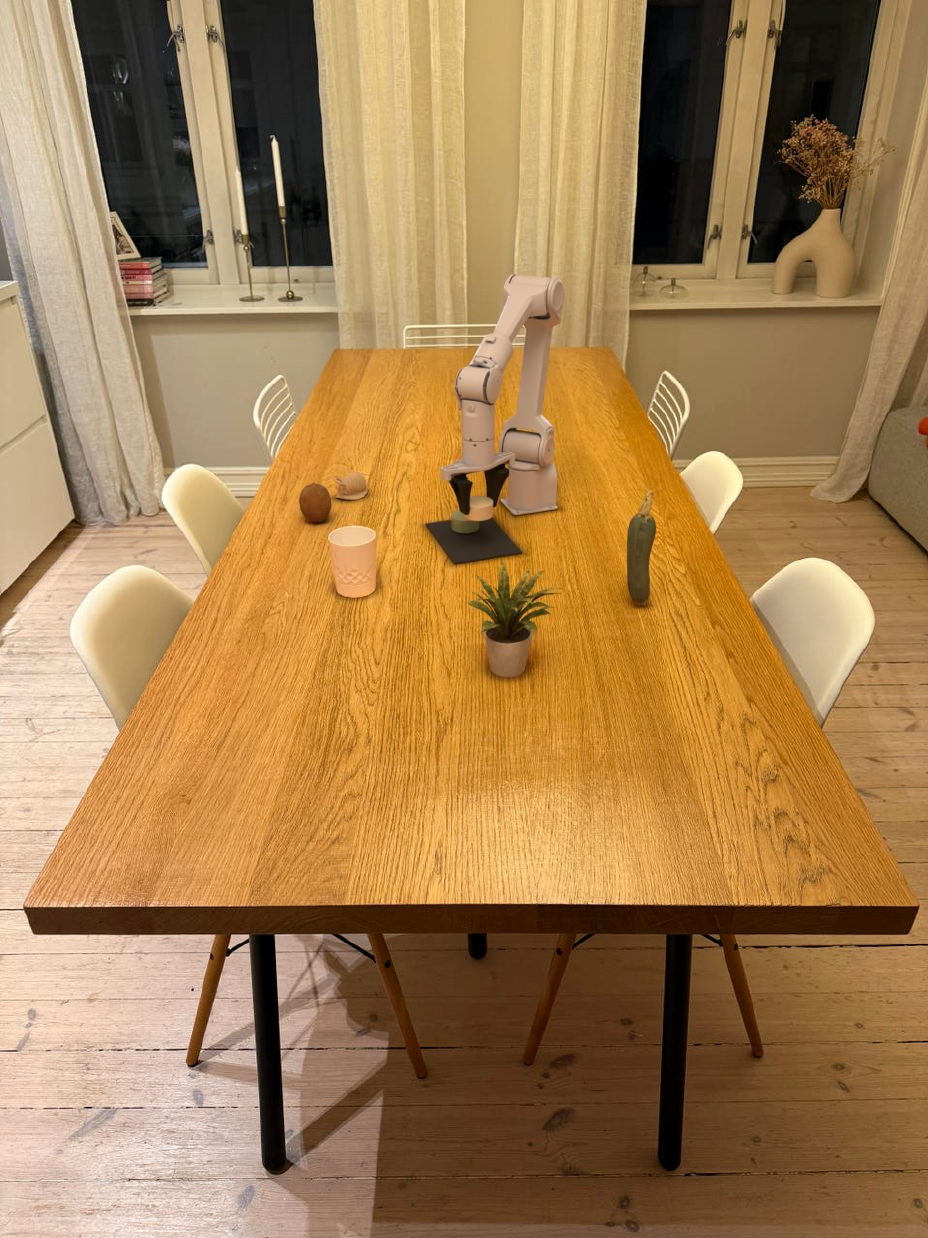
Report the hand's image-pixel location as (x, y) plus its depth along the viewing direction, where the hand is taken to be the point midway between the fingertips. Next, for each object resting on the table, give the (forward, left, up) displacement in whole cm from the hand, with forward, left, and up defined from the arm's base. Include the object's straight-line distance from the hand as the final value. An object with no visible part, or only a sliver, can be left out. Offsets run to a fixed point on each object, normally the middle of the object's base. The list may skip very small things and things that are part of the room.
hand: (478, 509), depth 173 cm
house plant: (+10, +41, -8) cm, 43 cm away
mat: (0, -4, -8) cm, 9 cm away
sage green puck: (0, -8, -7) cm, 11 cm away
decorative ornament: (+17, -32, -8) cm, 37 cm away
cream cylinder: (0, 0, -1) cm, 1 cm away
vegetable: (-17, +29, -8) cm, 35 cm away
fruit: (+26, -22, -8) cm, 35 cm away
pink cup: (+25, +8, -8) cm, 27 cm away
